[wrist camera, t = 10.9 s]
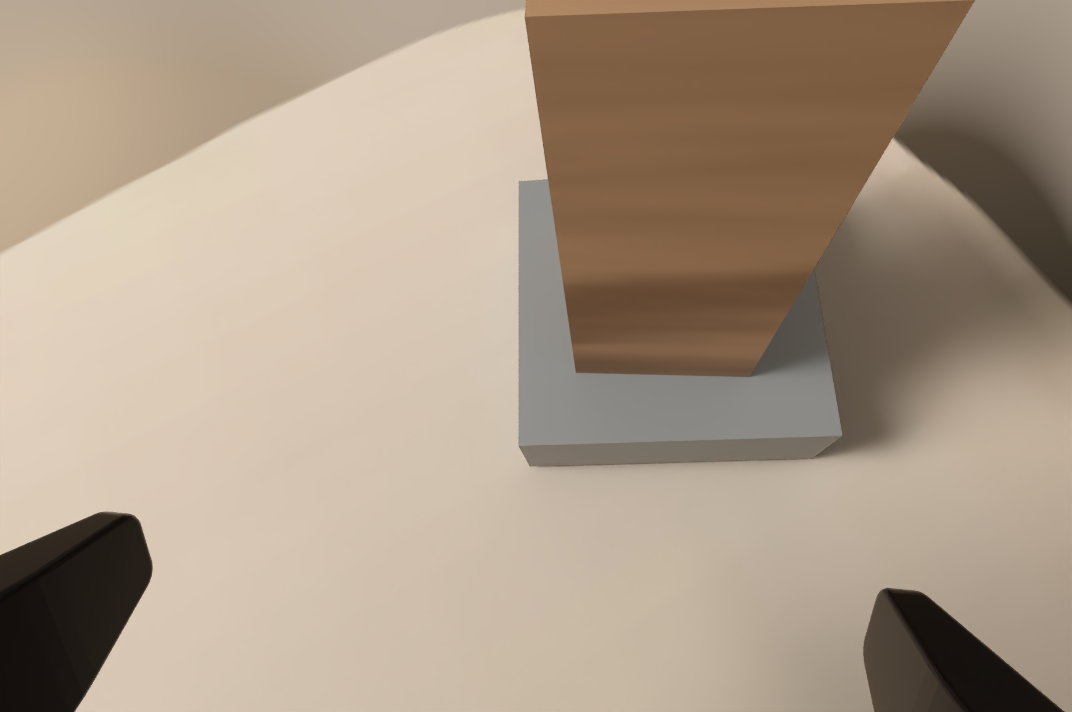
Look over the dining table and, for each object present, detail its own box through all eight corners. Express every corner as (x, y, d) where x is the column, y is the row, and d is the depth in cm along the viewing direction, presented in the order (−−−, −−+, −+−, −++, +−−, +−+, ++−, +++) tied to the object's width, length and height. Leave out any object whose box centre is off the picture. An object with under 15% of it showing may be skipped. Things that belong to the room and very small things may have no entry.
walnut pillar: (749, 377, 20) (974, 0, 7) (575, 372, 20) (525, 16, 8) (741, 225, 21) (915, -281, 9) (581, 225, 22) (547, -250, 10)
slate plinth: (812, 458, 22) (842, 435, 19) (529, 466, 22) (518, 445, 20) (774, 213, 25) (796, 162, 22) (528, 228, 26) (518, 181, 23)
